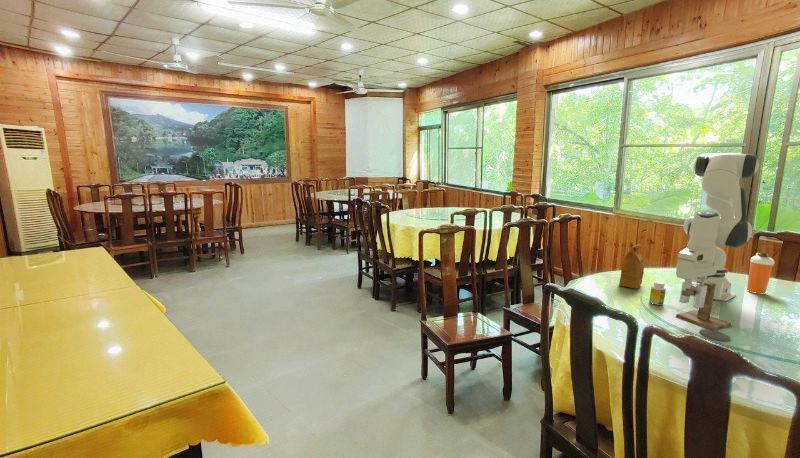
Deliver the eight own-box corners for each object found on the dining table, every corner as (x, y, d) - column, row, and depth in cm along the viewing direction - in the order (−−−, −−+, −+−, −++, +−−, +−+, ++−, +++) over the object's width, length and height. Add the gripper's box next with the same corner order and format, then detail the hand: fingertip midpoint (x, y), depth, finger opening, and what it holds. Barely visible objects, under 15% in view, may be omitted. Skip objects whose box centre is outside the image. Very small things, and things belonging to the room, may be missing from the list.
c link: (684, 301, 158) (688, 280, 156) (703, 307, 152) (707, 285, 150) (679, 302, 157) (682, 281, 155) (698, 308, 150) (702, 286, 149)
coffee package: (645, 286, 204) (651, 245, 200) (637, 291, 195) (643, 248, 191) (624, 281, 211) (629, 241, 207) (615, 285, 203) (621, 244, 199)
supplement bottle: (659, 307, 174) (663, 285, 172) (646, 303, 179) (649, 281, 177) (665, 304, 177) (669, 283, 176) (652, 300, 182) (655, 280, 180)
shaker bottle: (748, 293, 197) (756, 255, 193) (741, 288, 205) (748, 251, 201) (771, 296, 193) (779, 257, 190) (762, 290, 201) (770, 253, 198)
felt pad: (708, 329, 152) (708, 327, 152) (735, 339, 144) (735, 337, 144) (694, 332, 149) (694, 331, 149) (720, 343, 141) (721, 341, 140)
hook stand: (693, 312, 168) (699, 276, 165) (730, 325, 156) (738, 286, 153) (661, 319, 160) (667, 281, 157) (698, 334, 147) (705, 293, 144)
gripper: (707, 249, 157) (701, 282, 160) (675, 253, 149) (669, 287, 152) (725, 253, 152) (718, 287, 154) (693, 257, 144) (686, 292, 146)
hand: (694, 287), depth 153 cm, fingers open, 6 cm apart
